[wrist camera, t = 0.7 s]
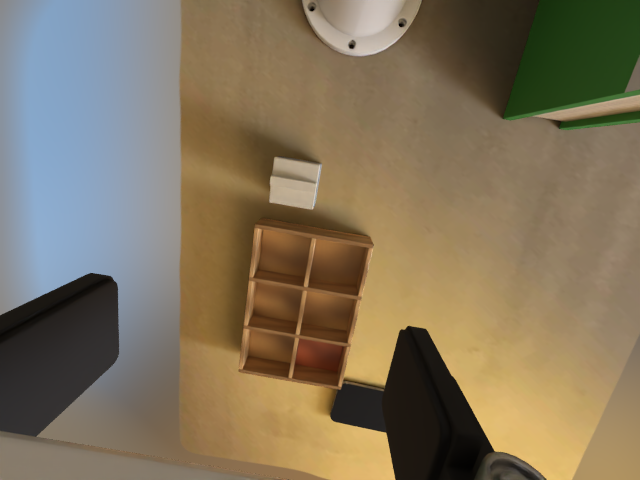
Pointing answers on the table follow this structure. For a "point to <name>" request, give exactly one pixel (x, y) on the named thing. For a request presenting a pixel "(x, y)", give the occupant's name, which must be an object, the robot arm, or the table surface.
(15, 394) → the robot arm
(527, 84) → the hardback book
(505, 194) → the table surface
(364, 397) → the smartphone
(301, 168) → the milk carton
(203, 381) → the table surface
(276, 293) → the compartment tray
